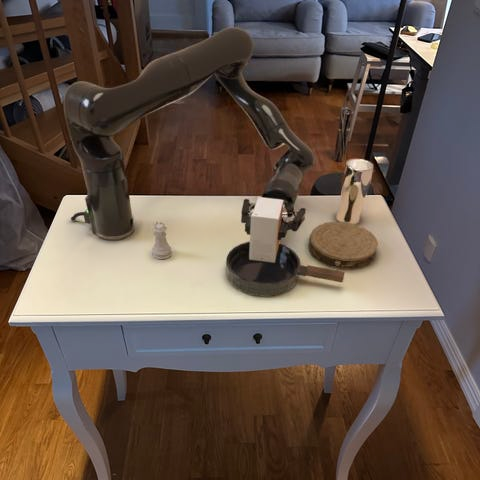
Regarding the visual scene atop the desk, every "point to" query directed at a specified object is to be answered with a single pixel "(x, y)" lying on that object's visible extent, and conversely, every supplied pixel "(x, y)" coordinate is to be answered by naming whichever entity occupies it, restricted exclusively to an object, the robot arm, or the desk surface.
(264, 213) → the small box
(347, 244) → the wood slice
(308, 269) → the pan handle
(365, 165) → the silver metal cup
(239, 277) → the pan
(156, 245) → the rook chess piece
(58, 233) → the desk surface
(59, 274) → the desk surface
